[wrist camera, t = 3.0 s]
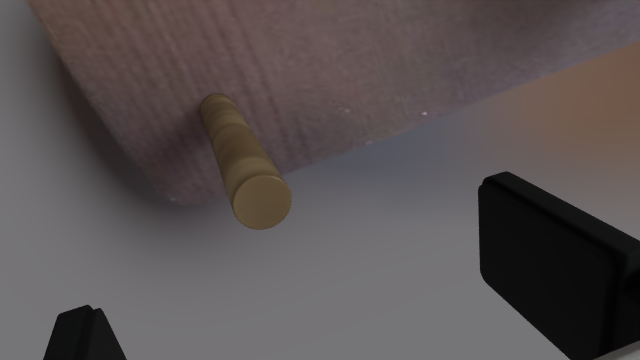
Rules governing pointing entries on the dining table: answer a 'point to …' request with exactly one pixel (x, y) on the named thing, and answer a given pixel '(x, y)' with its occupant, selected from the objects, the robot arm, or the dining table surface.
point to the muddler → (244, 166)
